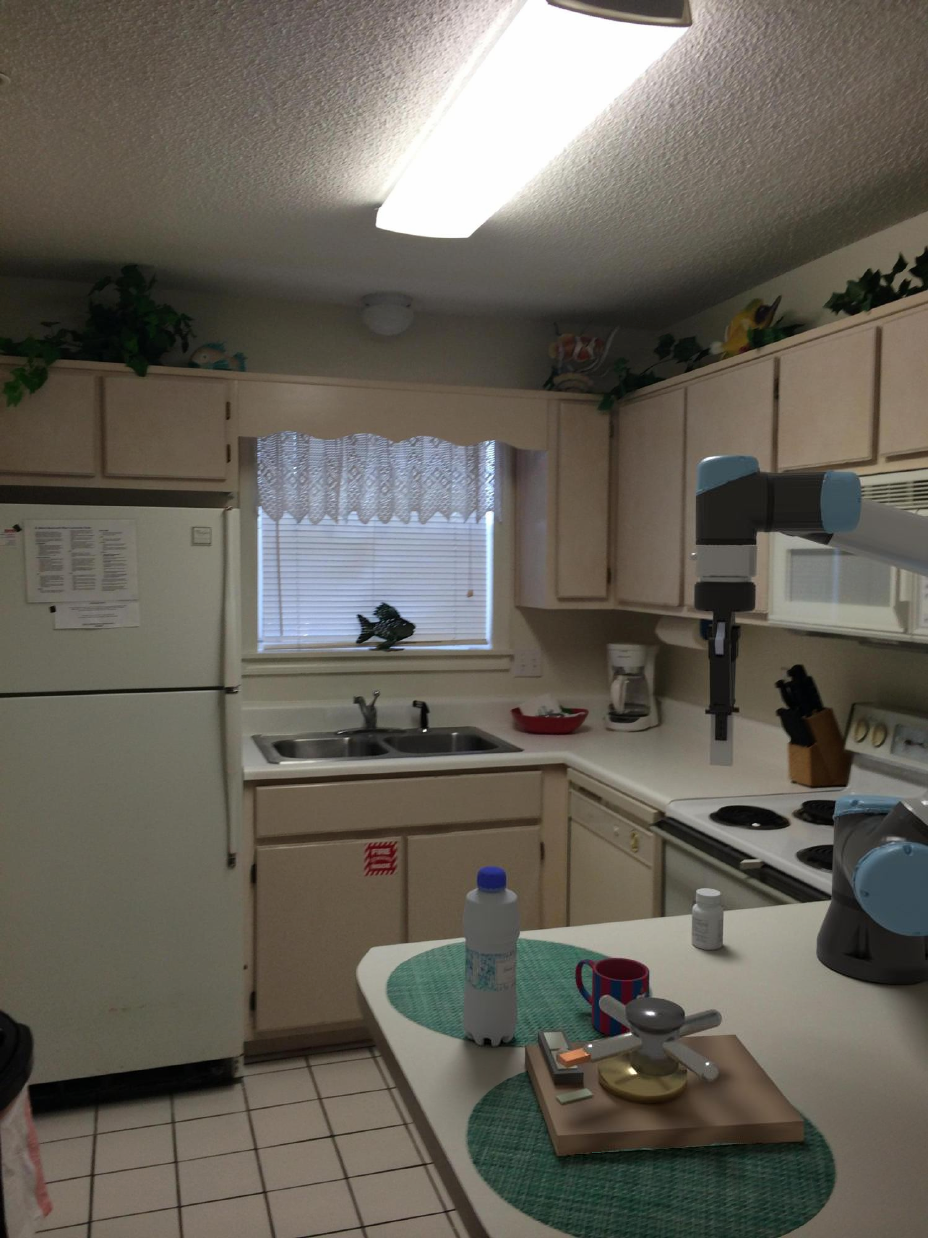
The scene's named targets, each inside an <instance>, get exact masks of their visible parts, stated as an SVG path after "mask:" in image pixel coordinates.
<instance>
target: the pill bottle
mask: <svg viewBox="0 0 928 1238" xmlns="http://www.w3.org/2000/svg"><path fill="white" fill-rule="evenodd" d="M721 894H722V893H721V891H719V890H717V889H714V888H707V887H704V888H702V887H701V888H699V889H696V892H695V902H696V903H695V904H693V906H692V908H691V909H692V911H691V945H693V946H695V947H696V948H698V949H701V950H705V951H706V950H708V951H711V950H712V951H713V950H714V951H715V950H719V949H720V948H722V947H723V945H724V918H725V917H724V916H725V915H724V909H723V907H722V906H721V905H720V904H721V901H722V895H721Z"/></svg>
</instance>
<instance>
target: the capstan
mask: <svg viewBox="0 0 928 1238" xmlns="http://www.w3.org/2000/svg"><path fill="white" fill-rule="evenodd" d="M599 1006H600V1008H601V1010H602V1011H604V1012H605V1013H607V1014H608V1015H610V1016H611V1017H613V1018H614V1019H616V1020H617V1021H618V1022H620V1023H621V1024H623V1025H624V1026H626V1027H627V1028H629V1029H630V1032H628V1033H625V1034H621V1035H618V1036H614V1037H612V1036H610V1037H608V1038H603V1039H600V1040H595V1041H596V1042H593V1043H589V1044H587V1045H585V1046H584V1047H583V1048H581V1049H577V1050H574V1051H570V1052H567V1053H563V1054H560V1055H559V1059H558V1062H559V1063H561V1064H562V1065H563V1066H564V1067H566V1068H569V1067H573V1066H576V1065H580V1064H583V1063H587V1062H588V1063H595V1062H598V1079H599V1081H600V1083H601V1084H602V1085H603V1087H605V1088H606V1089H607V1090H608V1091H610V1092H611V1093H613V1094H615V1095H617V1096H619V1097H622V1098H625V1099H628V1100H632V1101H637V1102H646V1103H656V1102H664V1101H669V1100H672V1099H675V1098H677V1097H678V1096H680V1095H681V1094H683V1092H684V1091H685V1090H686V1087H687V1069H689V1070H690V1071H692V1072H693V1073H695V1074H696V1075H698V1076H699V1077H701V1078H702V1079H704V1080H705V1081H708V1082H711V1081H714V1080H715V1079H716V1078H717V1077H718V1068H717V1066H716V1065H715V1064H714V1063H713V1062H711V1061H710V1060H708V1059H707V1058H705V1057H704V1056H702V1055H701V1054H699V1053H698V1052H696V1051H695V1050H693V1049H691V1048H690V1047H688V1046H687V1045H685V1044H684V1043H682V1042H681V1041H679V1038H681V1037H689V1036H690V1035H694V1034H697V1033H700V1032H704V1031H708V1030H711V1029H714V1028H717V1027H719V1026H720V1025H721V1024H722V1021H723V1017H722V1013H721V1012H720V1011H718V1010H717V1009H714V1008H713V1009H711V1008H710V1009H708V1010H704V1011H701V1012H700V1011H699V1012H696V1013H693V1014H689V1015H686V1012H685V1009H684V1008H683V1007H682V1006H681V1005H679V1004H677V1003H676V1002H674V1001H671V1000H668V999H665V998H660V997H650V996H649V997H646V998H638V999H634V1000H632V1001H630V1002H629V1003H627V1005H624V1004H622V1003H621V1002H619V1001H618V1000H616V999H615V998H613V997H612V996H610V995H604V996H602V997H601V998H600V1000H599Z"/></svg>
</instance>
